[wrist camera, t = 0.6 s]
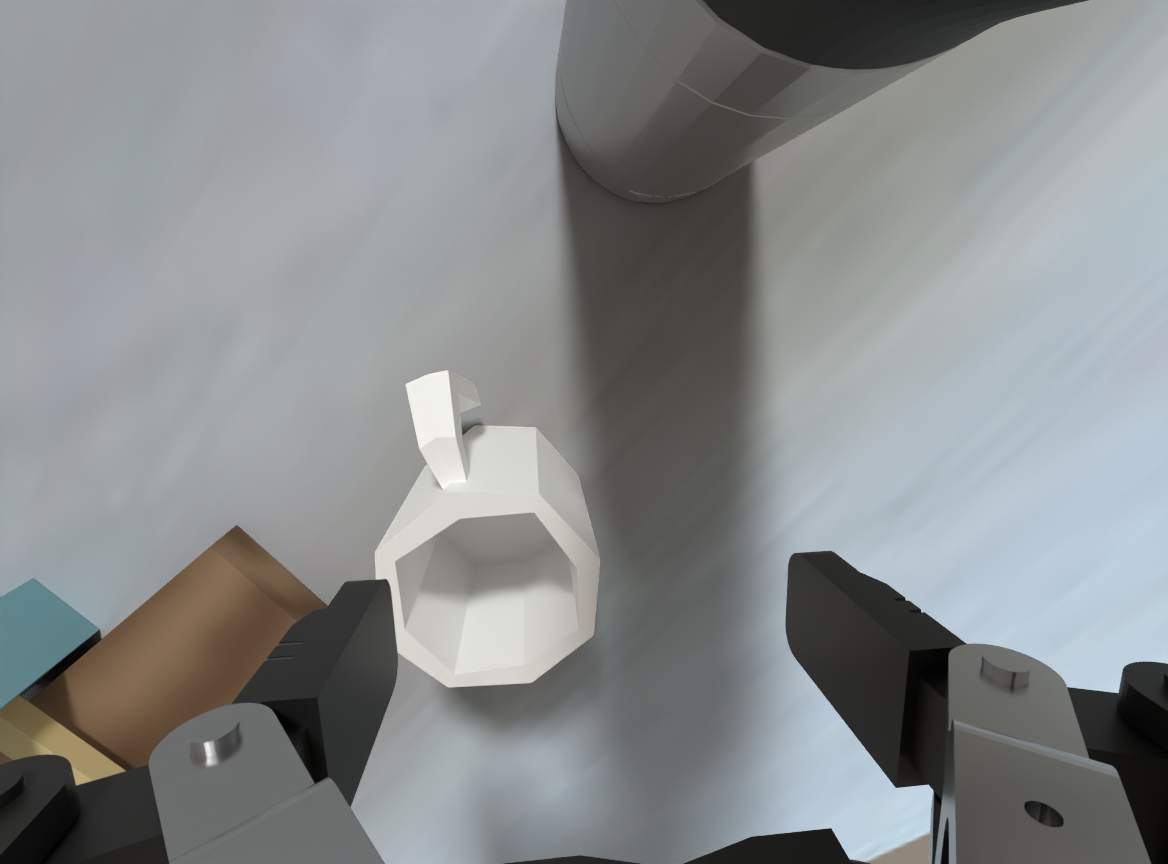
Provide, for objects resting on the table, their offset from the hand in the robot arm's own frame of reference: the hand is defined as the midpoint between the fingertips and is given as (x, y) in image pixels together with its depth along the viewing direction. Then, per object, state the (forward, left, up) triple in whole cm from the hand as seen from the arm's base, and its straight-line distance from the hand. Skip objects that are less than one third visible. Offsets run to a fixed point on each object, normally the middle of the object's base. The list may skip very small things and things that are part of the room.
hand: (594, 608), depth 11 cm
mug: (+2, -4, -19) cm, 19 cm away
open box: (+13, -25, -19) cm, 34 cm away
